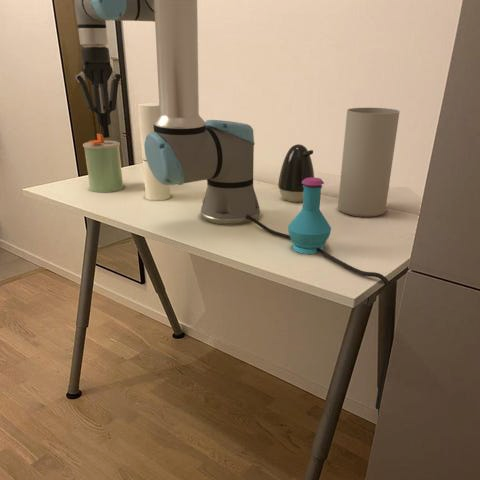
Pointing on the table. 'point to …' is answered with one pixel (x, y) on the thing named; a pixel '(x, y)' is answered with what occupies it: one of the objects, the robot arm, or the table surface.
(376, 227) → the table surface
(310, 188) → the perfume bottle
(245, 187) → the robot arm
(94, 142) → the lid slider
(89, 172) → the green lidded canister
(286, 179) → the pump dispenser
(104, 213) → the table surface
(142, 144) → the cylindrical container
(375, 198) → the cylinder vase
